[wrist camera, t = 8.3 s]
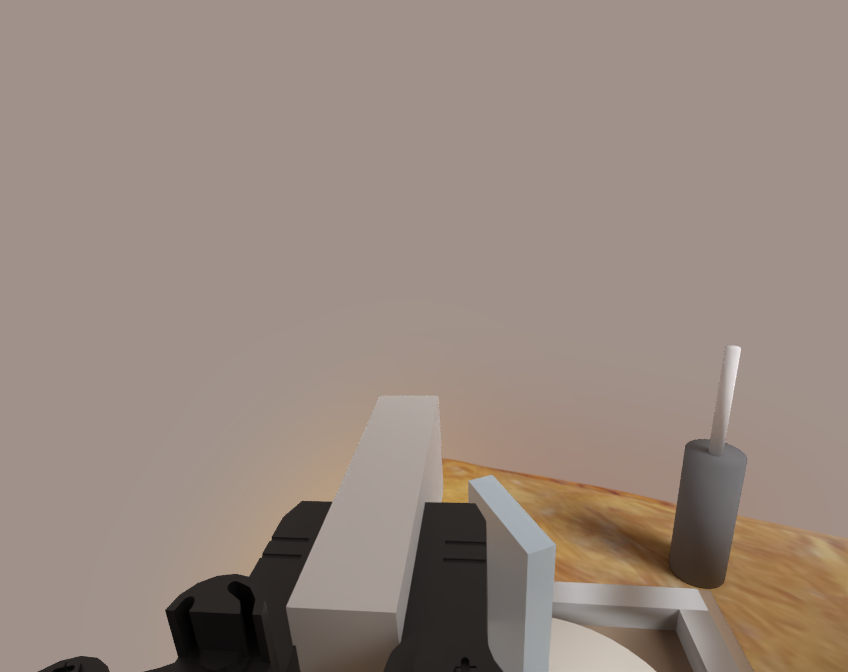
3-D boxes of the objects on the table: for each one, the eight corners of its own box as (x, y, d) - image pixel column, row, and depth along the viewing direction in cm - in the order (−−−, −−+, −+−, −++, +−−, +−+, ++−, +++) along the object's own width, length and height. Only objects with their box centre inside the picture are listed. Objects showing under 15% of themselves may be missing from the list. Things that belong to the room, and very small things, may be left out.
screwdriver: (711, 552, 36) (749, 338, 31) (734, 590, 33) (780, 358, 28) (661, 550, 37) (691, 338, 32) (679, 587, 33) (715, 357, 28)
